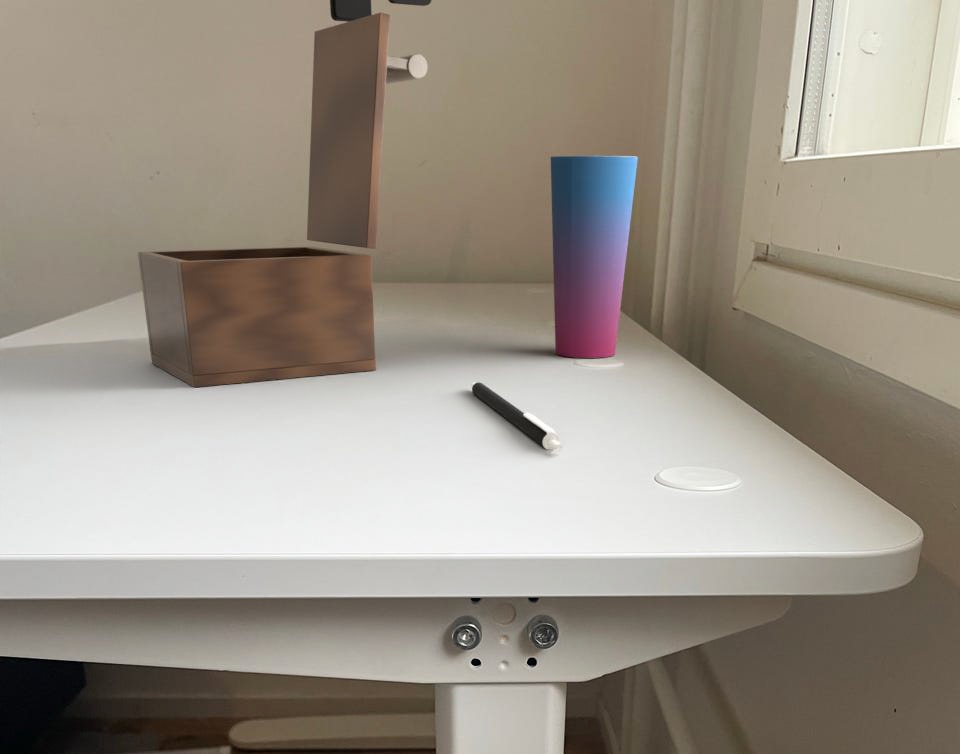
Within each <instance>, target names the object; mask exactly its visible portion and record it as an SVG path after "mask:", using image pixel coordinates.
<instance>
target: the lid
mask: <svg viewBox="0 0 960 754" xmlns="http://www.w3.org/2000/svg"><path fill="white" fill-rule="evenodd" d="M390 20H391V15H390V14H389V13H384V12H377V13H373V14H372V15H370V16H367V17H363V18H360V19H356V20H353V21H349V22H346V21H345V22H343V23H339V24H335V25H332V26H328V27H326V28H325V27H324V28H322V29H319V30H314V35H313V36H314V37H313V38H314V39H313V61H312V62H313V63H312V64H313V66H312V67H313V69H312V91H311V94H312V95H311V96H312V97H311V115H310V116H311V118H310V119H311V121H310V142H309V143H310V147H309V170H308V171H309V172H308V174H309V175H308V198H307V199H308V200H307V203H308V204H307V227H306V228H307V229H306V240H307V241H311V242H318V243H325V244H326V243H327V244H334V245H341V246H349V247H355V248H356V247H357V248H365V249H373V250H375V249H377V237H378V222H379V221H378V220H379V204H380V203H379V201H380V186H381V171H382V170H381V169H382V156H383V154H382V153H383V139H384V137H383V136H384V121H385V120H384V119H385V105H386V104H385V102H386V89H387V88H386V87H387V85H389V84H396V83H401V82H408V81H414V80H420V79H423V78H424V77H425V76H426V74H427V72H428V62H427V59H426V58H425V57H424V56H423V55H422V54H420V53H413V54H409V55H408V54H407V55H404V56H403V55H402V56H394V55H389V54H388V53H389V40H390V39H389V36H390V22H391V21H390Z"/></svg>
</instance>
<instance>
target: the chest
mask: <svg viewBox="0 0 960 754" xmlns="http://www.w3.org/2000/svg"><path fill="white" fill-rule="evenodd" d="M137 256H138V265H139V274H140V280H141V281H140V283H141V288H142V289H141V290H142V296H143V297H142V298H143V304H144V311H145V320H146V327H147V337H148V344H149V352H150V359H151V364H152V365H154V366H156V367H158V368H159V369H161V370H162V371H165V372H167V373H168V374H170V375H172V376H173V377H175V378H177V379H178V380H180V381H183V382H185V383H186V384H188V385H189V386H192V387H193V388H203V387H214V386H223V385H233V384H234V385H235V384H244V383H245V384H246V383H255V382H265V381H276V380H277V381H278V380H286V379H296V378H307V377H308V378H309V377H318V376H330V375H339V374H350V373H359V372H362V373H363V372H371V371H376V370H377V363H376V361H377V360H376V342H375V341H376V340H375V338H376V337H375V316H374V315H375V314H374V290H373V266H372V265H373V264H372V263H373V262H372V261H373V259H372V255H371V254H366V253H360V252H353V251H345V250H337V249H332V248H331V249H330V248H323V247H317V246H283V247H282V246H281V247H255V248H254V247H251V248H247V247H246V248H221V249H219V248H218V249H217V248H216V249H187V250H185V249H183V250H155V251H153V250H152V251H138V252H137Z"/></svg>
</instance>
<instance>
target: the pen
mask: <svg viewBox="0 0 960 754" xmlns="http://www.w3.org/2000/svg"><path fill="white" fill-rule="evenodd" d="M470 386H471V391H472V393H473V394H474V395H475V396H476V397H477V398H479V399H480V400H482V402H484V403H485V404H487V405H488V406H489V407H490V408H492V409H493V410H494V411H496V413H498V414H500V415H501V416H502V417H504V418H505V419H507V421H509V422H510V423H512V424H513V425H514V426H515V427H517V428H518V429H519V430H521V431H522V432H523V433H525V434H526V435H527V436H528V437H530V438H531V439H532V440H534V441H535V442H536V443H538V444H539V445H540V446H542V447H543V448H544V449H545V450H547V451H551V450H555V451H556V452H562V450H563V446H562V445H561V444H560V439H559V437H558V436H557V435H556V431H555V430H554V429H553V428H551V427H550V426H548V424H546V423H545V422H543V421H542V420H540V419H539V418H538V417H536V416H535V415H534V414H531V413H529V412H525V413H524V412H523V411H522V410H521V409H519V408H517V407H516V406H515V405H513V404H512V403H511V402H509V401H508V400H507V399H505V398H504V397H502V396H501V395H499V394H498V393H496V392H495V391H493V389H491V388H489V387H488V386H487V385H485V384H484V383H482V382H471V383H470Z"/></svg>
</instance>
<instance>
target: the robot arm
mask: <svg viewBox="0 0 960 754" xmlns="http://www.w3.org/2000/svg"><path fill="white" fill-rule="evenodd" d="M388 2H389V3H390V4H394V5H407V6H418V7H419V6H420V7H426V6H429V5H430V4H431V3H432V0H388ZM329 7H330V8H329V9H330V18H331V19H332V20H333V21H335V22H345V23H346V22H349V21H353V20H356V19H360V18H363V17H367V16H370V15H373V14H372V13H373V12H372V0H329Z"/></svg>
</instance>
